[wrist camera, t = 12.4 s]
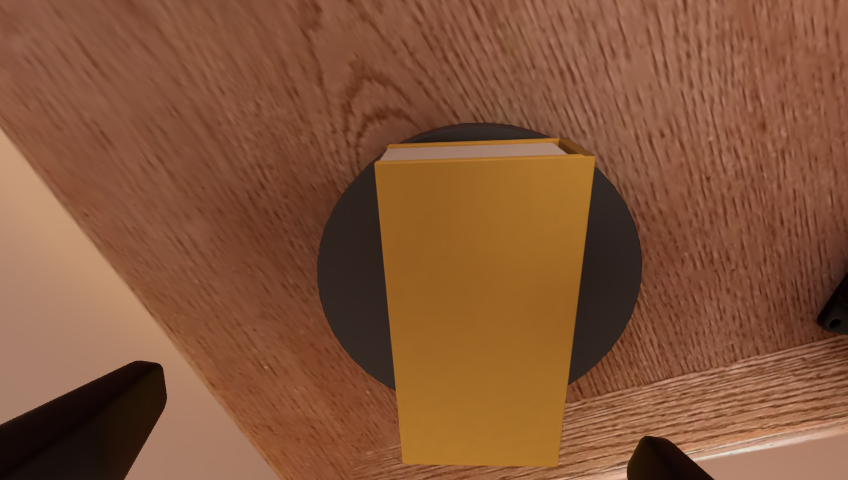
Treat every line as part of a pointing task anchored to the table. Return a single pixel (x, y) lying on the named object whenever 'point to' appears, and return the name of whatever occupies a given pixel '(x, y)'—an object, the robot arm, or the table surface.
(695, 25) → the table surface
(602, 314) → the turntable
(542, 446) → the book
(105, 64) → the table surface
